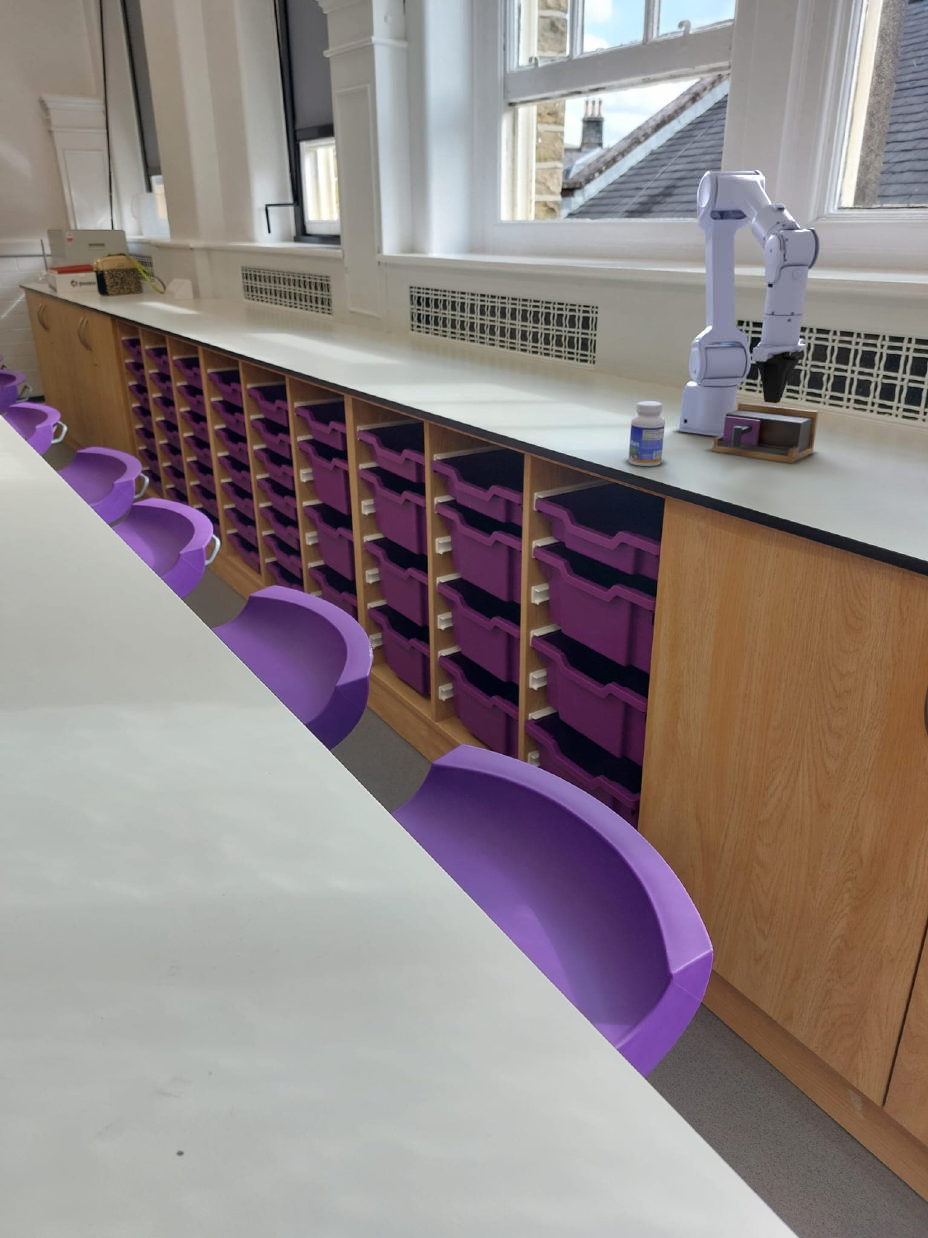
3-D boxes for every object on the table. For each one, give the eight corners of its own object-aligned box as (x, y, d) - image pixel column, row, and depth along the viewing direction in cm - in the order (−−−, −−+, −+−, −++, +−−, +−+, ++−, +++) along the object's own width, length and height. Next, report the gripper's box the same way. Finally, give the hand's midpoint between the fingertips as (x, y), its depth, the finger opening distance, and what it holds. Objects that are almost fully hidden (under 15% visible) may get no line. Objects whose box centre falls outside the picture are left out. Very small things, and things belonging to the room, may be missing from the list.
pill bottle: (624, 459, 147) (628, 400, 143) (656, 457, 148) (660, 399, 144) (633, 467, 142) (637, 406, 138) (665, 466, 143) (670, 405, 139)
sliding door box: (712, 450, 151) (716, 410, 148) (735, 441, 157) (740, 402, 155) (791, 462, 143) (797, 419, 140) (812, 452, 149) (818, 411, 146)
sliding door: (708, 449, 147) (710, 421, 145) (724, 443, 151) (727, 415, 149) (741, 454, 144) (745, 426, 142) (757, 448, 148) (760, 420, 146)
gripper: (788, 319, 129) (776, 411, 135) (826, 311, 139) (814, 397, 145) (743, 316, 133) (734, 406, 139) (783, 308, 143) (772, 393, 149)
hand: (771, 401), depth 142 cm, fingers closed
